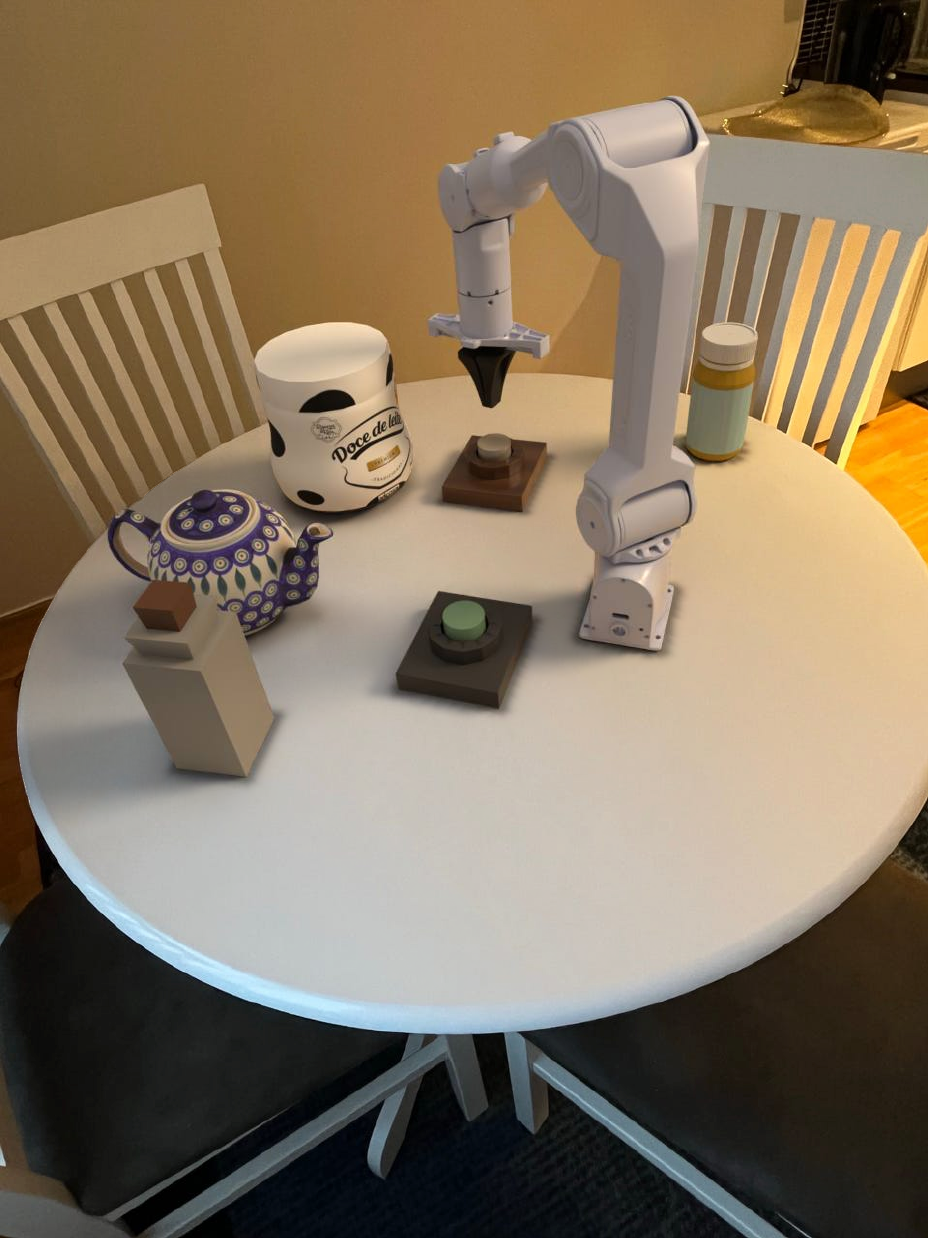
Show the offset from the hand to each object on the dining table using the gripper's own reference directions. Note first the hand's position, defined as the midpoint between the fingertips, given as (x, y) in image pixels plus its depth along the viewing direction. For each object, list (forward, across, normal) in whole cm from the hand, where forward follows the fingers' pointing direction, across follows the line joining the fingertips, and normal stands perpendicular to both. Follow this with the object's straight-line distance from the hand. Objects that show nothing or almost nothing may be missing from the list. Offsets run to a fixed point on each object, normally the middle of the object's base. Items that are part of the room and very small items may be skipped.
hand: (491, 403), depth 97 cm
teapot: (+11, -12, -33) cm, 37 cm away
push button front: (+10, +14, -27) cm, 32 cm away
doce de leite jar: (+11, -16, -10) cm, 21 cm away
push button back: (+10, 0, 0) cm, 10 cm away
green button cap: (+7, +14, -27) cm, 31 cm away
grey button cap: (+7, 0, 0) cm, 7 cm away
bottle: (+11, +21, +18) cm, 30 cm away
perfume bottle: (+11, 0, -48) cm, 49 cm away
